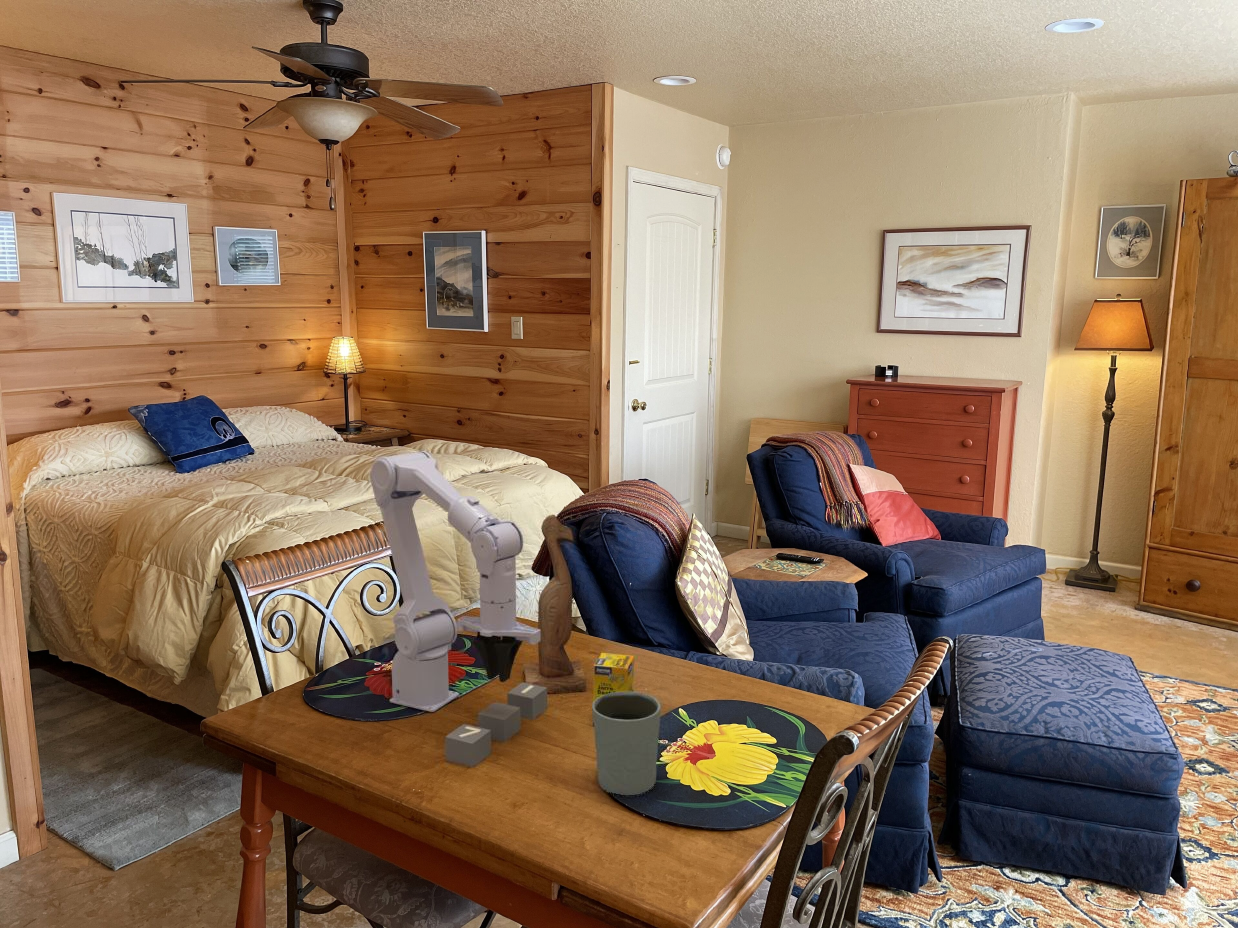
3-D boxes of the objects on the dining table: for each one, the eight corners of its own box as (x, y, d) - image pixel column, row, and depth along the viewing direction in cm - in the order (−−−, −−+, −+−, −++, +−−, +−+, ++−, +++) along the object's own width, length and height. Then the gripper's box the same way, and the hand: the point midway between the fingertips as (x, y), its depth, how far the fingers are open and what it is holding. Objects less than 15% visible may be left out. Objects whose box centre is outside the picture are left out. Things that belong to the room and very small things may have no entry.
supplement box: (627, 730, 152) (628, 668, 150) (592, 727, 153) (592, 665, 151) (634, 715, 157) (634, 654, 156) (599, 711, 159) (600, 652, 157)
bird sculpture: (590, 693, 167) (596, 521, 162) (526, 696, 164) (530, 522, 159) (578, 670, 178) (584, 508, 173) (518, 673, 175) (522, 509, 170)
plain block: (478, 736, 149) (477, 713, 149) (494, 724, 154) (494, 701, 153) (504, 742, 147) (504, 719, 147) (520, 730, 152) (520, 707, 151)
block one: (507, 714, 157) (507, 691, 157) (522, 703, 162) (522, 681, 161) (532, 720, 155) (532, 697, 155) (547, 709, 160) (547, 686, 159)
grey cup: (637, 806, 129) (638, 726, 127) (577, 785, 134) (578, 708, 132) (671, 775, 137) (673, 700, 135) (614, 757, 143) (615, 684, 141)
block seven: (445, 760, 141) (445, 735, 141) (464, 747, 146) (464, 722, 145) (472, 768, 139) (472, 742, 139) (491, 753, 144) (490, 728, 143)
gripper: (445, 598, 146) (447, 679, 148) (524, 612, 140) (524, 695, 142) (470, 586, 152) (472, 664, 155) (547, 599, 146) (547, 679, 149)
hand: (499, 678), depth 149 cm, fingers closed
